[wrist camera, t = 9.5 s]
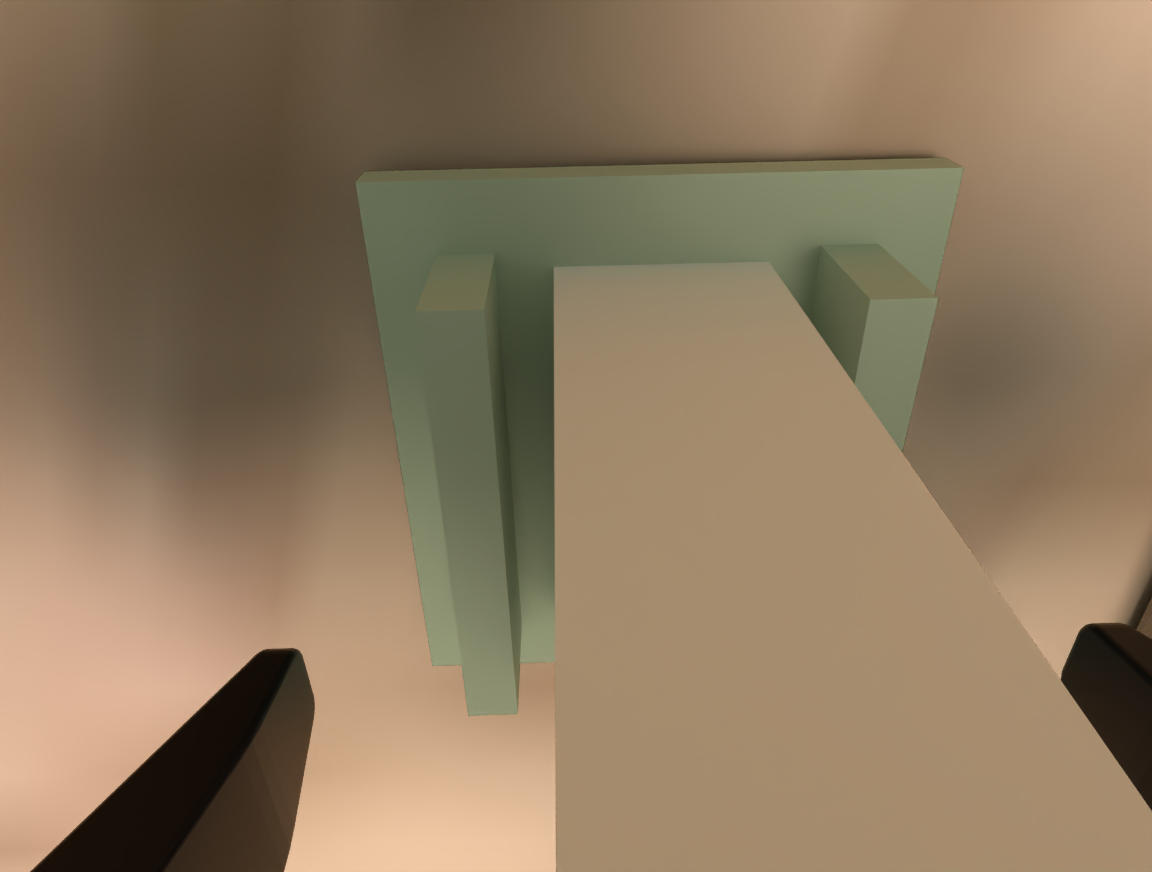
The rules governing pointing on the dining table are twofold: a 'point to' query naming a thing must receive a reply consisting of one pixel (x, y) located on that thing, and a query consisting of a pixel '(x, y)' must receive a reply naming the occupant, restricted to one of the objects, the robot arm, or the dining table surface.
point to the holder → (526, 341)
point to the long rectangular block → (784, 616)
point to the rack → (1146, 621)
